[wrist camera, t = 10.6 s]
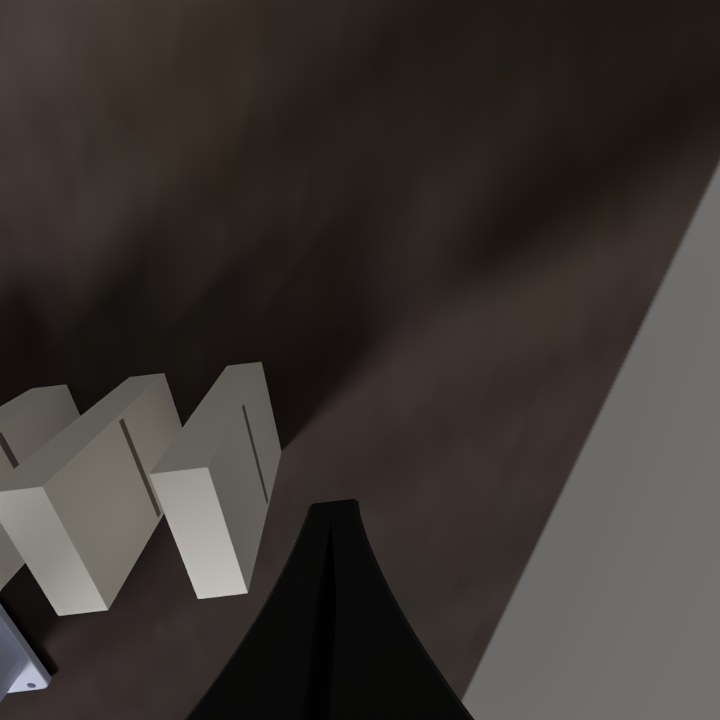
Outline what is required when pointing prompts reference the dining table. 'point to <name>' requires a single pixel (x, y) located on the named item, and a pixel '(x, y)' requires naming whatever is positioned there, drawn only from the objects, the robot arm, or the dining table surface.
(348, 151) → the dining table surface
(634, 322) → the dining table surface
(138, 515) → the domino
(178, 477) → the domino
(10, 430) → the domino
